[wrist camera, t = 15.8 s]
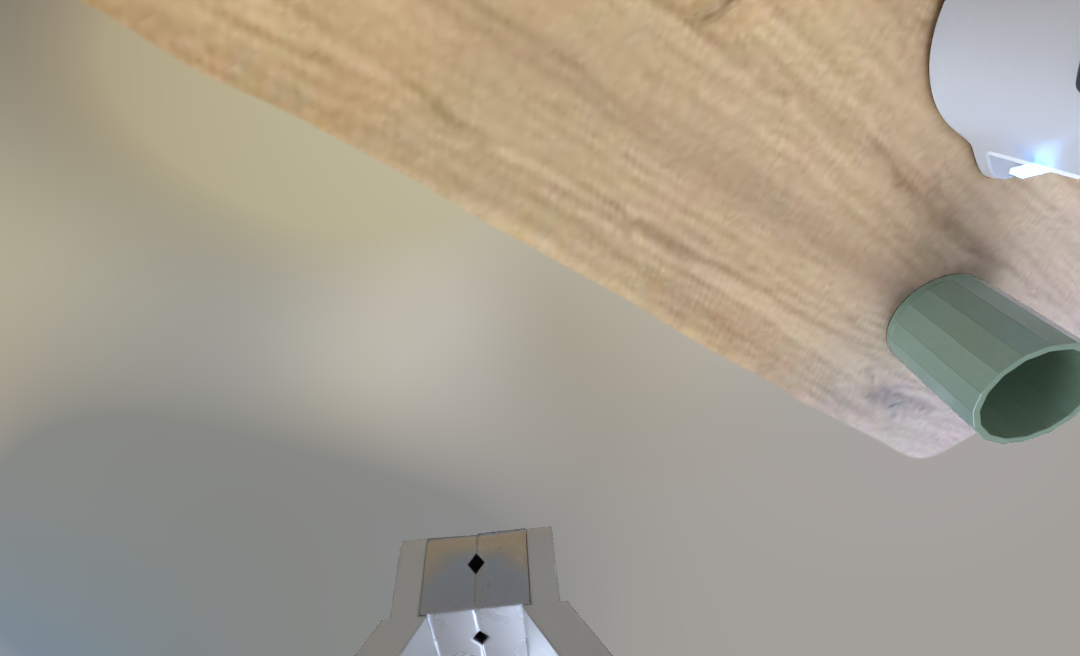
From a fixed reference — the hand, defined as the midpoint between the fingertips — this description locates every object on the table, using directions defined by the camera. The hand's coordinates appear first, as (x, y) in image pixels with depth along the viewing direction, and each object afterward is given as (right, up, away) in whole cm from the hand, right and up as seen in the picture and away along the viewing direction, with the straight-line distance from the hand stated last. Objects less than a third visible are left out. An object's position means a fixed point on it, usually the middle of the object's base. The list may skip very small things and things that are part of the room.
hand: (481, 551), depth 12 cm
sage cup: (+33, +5, +33) cm, 47 cm away
